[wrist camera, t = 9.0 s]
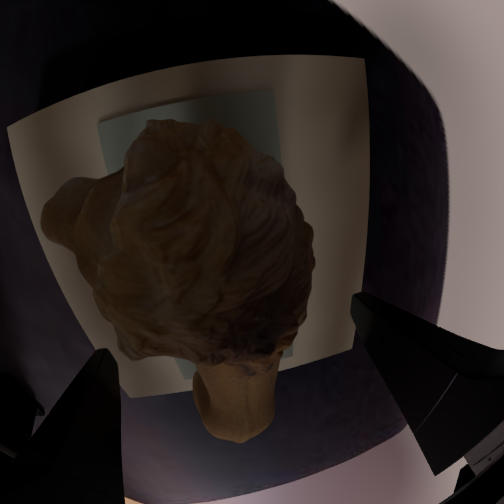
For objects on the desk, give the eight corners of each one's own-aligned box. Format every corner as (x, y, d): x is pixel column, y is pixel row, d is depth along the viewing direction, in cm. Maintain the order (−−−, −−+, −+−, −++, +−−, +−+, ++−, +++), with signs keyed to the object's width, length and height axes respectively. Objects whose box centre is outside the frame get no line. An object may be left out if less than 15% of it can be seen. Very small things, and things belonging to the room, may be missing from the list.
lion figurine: (107, 133, 9) (-64, 224, 2) (242, 98, 10) (405, 87, 2) (202, 378, 17) (226, 513, 9) (284, 357, 17) (336, 484, 10)
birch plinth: (132, 366, 19) (130, 400, 17) (36, 121, 10) (4, 128, 8) (334, 322, 21) (353, 350, 19) (333, 64, 13) (366, 58, 10)
